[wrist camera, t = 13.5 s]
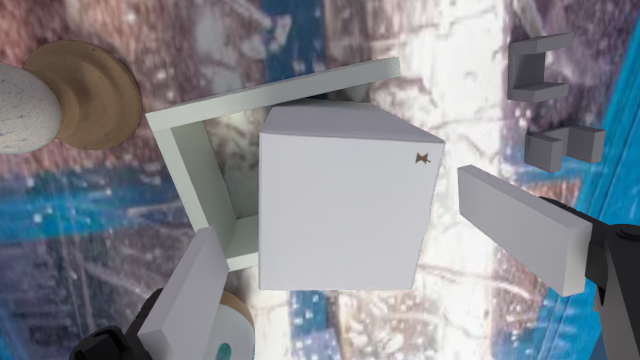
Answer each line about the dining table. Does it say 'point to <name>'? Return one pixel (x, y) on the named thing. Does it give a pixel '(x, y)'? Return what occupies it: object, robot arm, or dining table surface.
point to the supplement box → (342, 196)
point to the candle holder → (67, 99)
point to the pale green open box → (199, 159)
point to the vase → (231, 331)
